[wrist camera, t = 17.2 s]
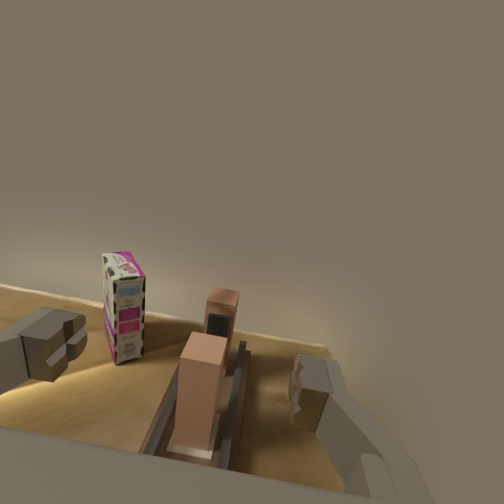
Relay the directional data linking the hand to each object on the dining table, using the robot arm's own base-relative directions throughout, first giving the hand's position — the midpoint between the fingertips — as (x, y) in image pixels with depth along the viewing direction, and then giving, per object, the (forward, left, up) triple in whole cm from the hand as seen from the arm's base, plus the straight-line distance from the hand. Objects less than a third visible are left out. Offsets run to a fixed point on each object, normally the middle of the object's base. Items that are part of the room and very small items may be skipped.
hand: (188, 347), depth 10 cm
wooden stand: (-2, +22, -30) cm, 37 cm away
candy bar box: (-20, +31, -30) cm, 48 cm away
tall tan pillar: (-2, +16, -28) cm, 33 cm away
